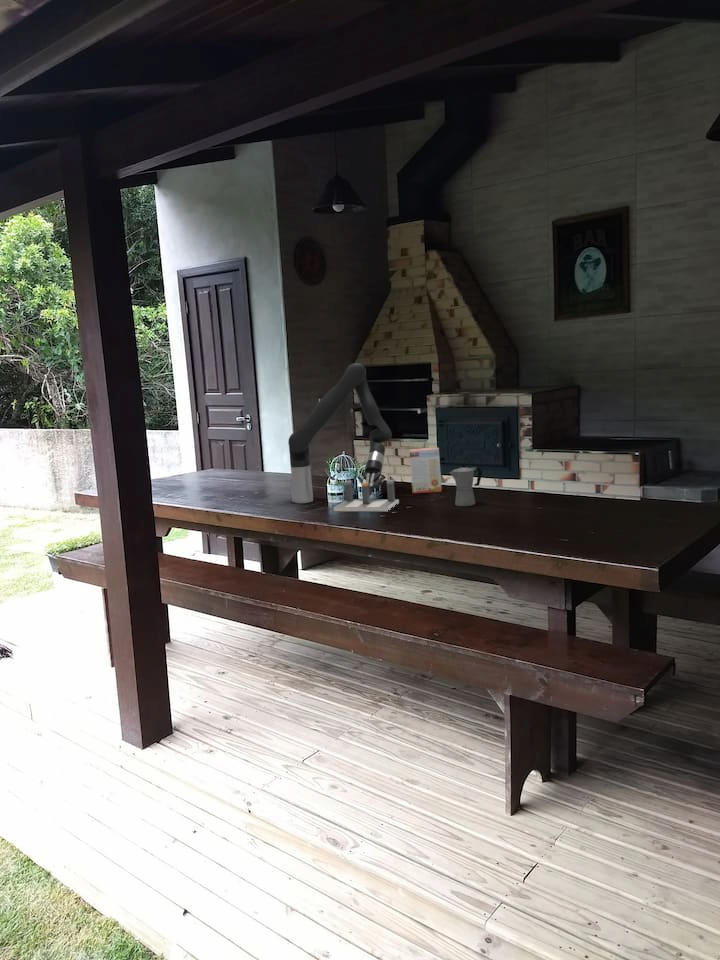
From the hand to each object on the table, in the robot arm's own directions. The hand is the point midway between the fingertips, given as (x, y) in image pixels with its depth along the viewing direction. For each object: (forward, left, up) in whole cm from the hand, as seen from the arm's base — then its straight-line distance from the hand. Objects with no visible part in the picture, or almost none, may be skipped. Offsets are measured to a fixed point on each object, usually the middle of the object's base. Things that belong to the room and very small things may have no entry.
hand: (368, 495), depth 334 cm
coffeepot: (+44, +4, -5) cm, 44 cm away
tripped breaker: (0, -3, -3) cm, 4 cm away
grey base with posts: (0, -3, -5) cm, 6 cm away
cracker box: (+19, +31, -5) cm, 37 cm away
